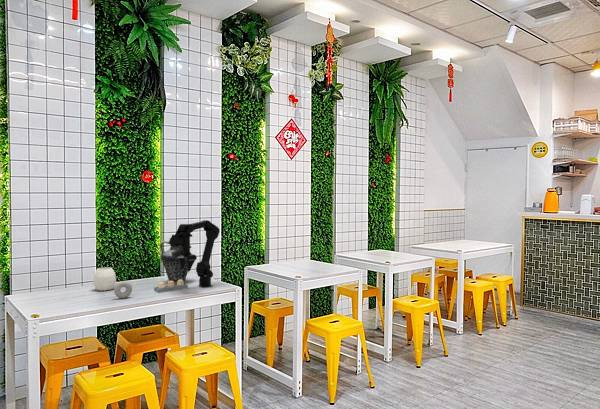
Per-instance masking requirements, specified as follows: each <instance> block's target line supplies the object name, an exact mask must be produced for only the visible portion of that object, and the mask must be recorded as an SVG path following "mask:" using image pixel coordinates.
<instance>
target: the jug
mask: <svg viewBox="0 0 600 409" xmlns="http://www.w3.org/2000/svg"><path fill="white" fill-rule="evenodd" d="M159 244H160V245H159V248H160V251H161V256H160V259H161V262H162V265H163V267H164V270H165V273H166V276H167V279H168V282H169V281H173V282H174V284H177V281H178V280H180V279H182V280H183V281H184V282H185V281H186V278H187V276H188V272H189V271H188V268H187V262H185V266H184V269H181V266H180V262H179V260H178V259H176V258H173V257H172V254H171V252H173V251H175V250H178V249H179V246H171V245H170V243H169V240H163V241H161V242H160V243H159ZM164 244H166V245H170V247H169V249H168V250H166V251H165V250H164V247H163V246H164Z"/></svg>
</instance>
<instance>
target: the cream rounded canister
mask: <svg viewBox="0 0 600 409" xmlns="http://www.w3.org/2000/svg"><path fill="white" fill-rule="evenodd" d="M92 279H93V286H94V289H95V290H96V291H101V292H103V291H104V292H107V291H111V290H114V288H115V286H116V284H117V276H116V272H115V270H114V269H113V268H112V267H108V266H106V267H98V268H96V270H95V272H94V275H93V278H92ZM106 290H107V291H106Z"/></svg>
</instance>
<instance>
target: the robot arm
mask: <svg viewBox="0 0 600 409" xmlns="http://www.w3.org/2000/svg"><path fill="white" fill-rule="evenodd" d="M199 229H203V230H204V231H205V236H206V242H205V244H204V248H203V249H204V250H203V253H202V256H201V260H200V261H198V262H197V264H196V267H195V269H196V270H195V272H196V274H197V277H199V281H198V287H200V288H210V287H213V285H212V277H213V276H214V272H213V271H212V270H211V264H210V260H211V256H212V252H213V248H214V245H215V244H214V243H215V241H216V239H218V237H219V235H220V233H221V232H220V228H219V226H217V225H216V224H214V223H213V222H211V221H210V220H208V219H204V220H201V221H198V222H193V223H192V222H191V223H180V224H179V225H178V227H177V229H176V232H175V233H174V234H171V237H170V238H169V240H168V241H169V243H170V244H169V245H171V246H179V249H178V250H175V251H173V252H171V254H172V257H173V258H176V259H178V260H179V262H180V266H181V269H184V266H185V262H187V268H188V272H191V269H192V267H193V265H194V263H195V262H196V260H197V255H196V254H193V253H192V252H191V249H192V246H191V238H193V234H192V233H193V232H194V231H195V230H199ZM171 246H170V247H171Z"/></svg>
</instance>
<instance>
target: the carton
mask: <svg viewBox="0 0 600 409" xmlns="http://www.w3.org/2000/svg"><path fill="white" fill-rule="evenodd" d="M184 282H185V281H183V280H182V279H180V280H178V281H177V283H174V287H168V284H167V285H166V284H165V282H164V281H160V282H158V284H157V286H155V287H153V291H154V292H156V293H164V292H173V291H178V290H185V289H189V288H188V287H189V285H188V284H187V283H184Z"/></svg>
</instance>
